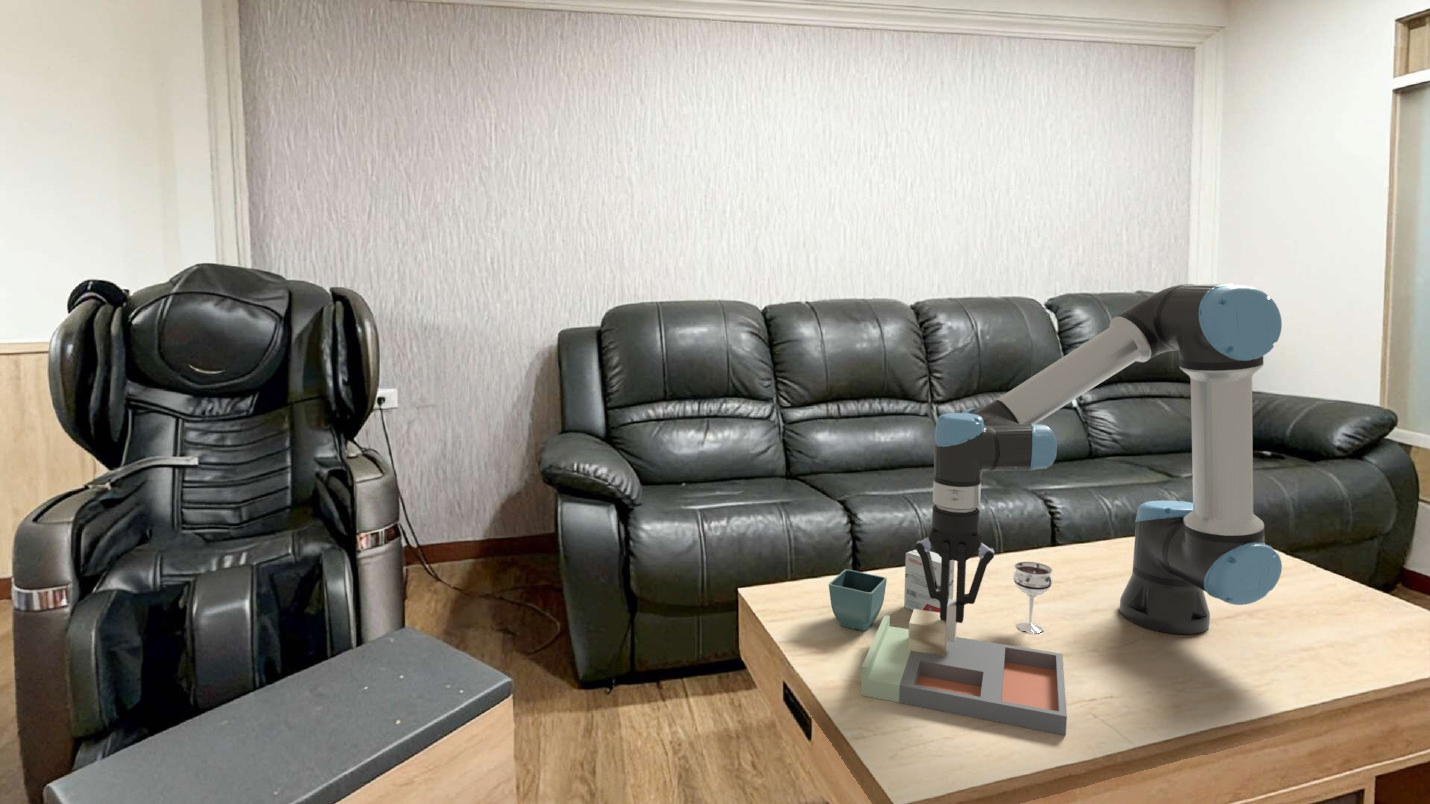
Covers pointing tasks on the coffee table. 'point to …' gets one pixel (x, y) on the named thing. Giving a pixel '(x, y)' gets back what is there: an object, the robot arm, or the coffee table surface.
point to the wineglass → (1032, 588)
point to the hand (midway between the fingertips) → (951, 638)
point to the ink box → (923, 582)
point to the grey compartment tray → (969, 679)
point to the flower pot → (857, 598)
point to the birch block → (927, 633)
